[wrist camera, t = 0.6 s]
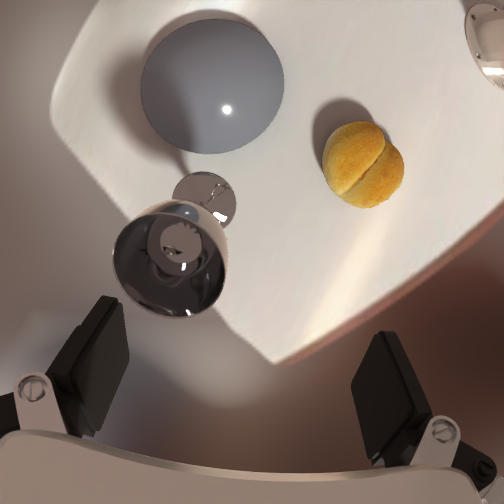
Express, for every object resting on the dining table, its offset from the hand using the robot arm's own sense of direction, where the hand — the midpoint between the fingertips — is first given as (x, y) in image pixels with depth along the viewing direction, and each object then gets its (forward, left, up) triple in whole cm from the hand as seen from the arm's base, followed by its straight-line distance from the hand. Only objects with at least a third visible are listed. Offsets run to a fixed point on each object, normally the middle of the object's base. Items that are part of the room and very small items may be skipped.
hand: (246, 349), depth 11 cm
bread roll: (-8, +1, -24) cm, 26 cm away
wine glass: (+6, -1, -24) cm, 25 cm away
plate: (-2, -11, -24) cm, 27 cm away
